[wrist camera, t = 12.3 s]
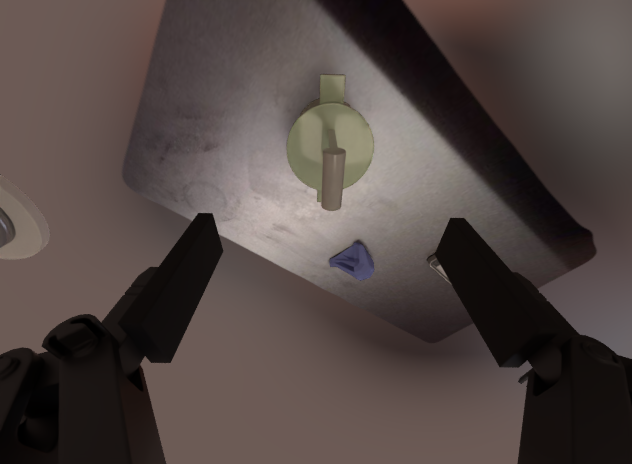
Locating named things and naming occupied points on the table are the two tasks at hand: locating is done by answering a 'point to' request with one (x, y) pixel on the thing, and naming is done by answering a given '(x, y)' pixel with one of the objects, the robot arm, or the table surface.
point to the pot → (329, 97)
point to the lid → (330, 150)
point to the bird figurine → (354, 262)
